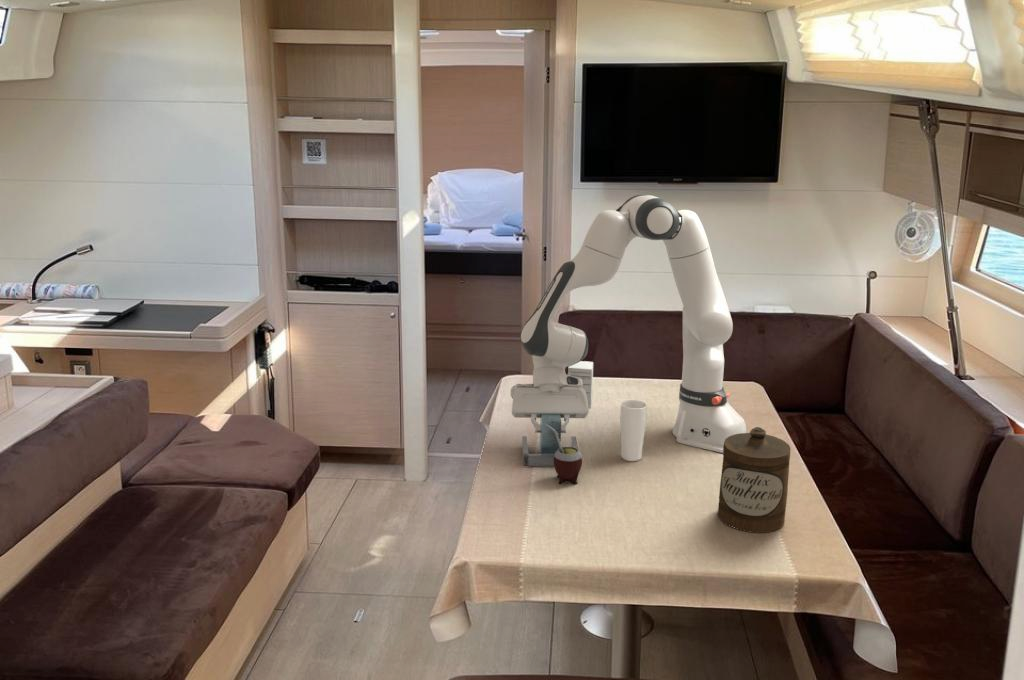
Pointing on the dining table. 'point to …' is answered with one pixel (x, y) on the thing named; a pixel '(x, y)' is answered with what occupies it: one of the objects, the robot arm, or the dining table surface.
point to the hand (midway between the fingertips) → (550, 432)
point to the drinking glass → (632, 429)
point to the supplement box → (584, 377)
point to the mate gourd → (567, 462)
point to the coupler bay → (541, 455)
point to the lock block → (549, 433)
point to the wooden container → (754, 481)
